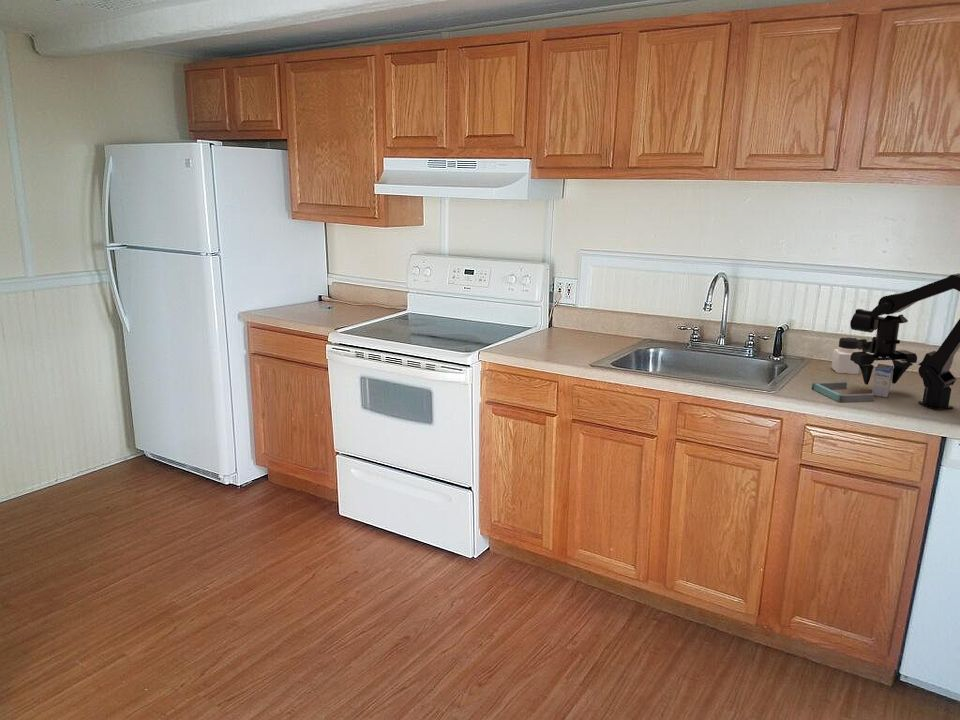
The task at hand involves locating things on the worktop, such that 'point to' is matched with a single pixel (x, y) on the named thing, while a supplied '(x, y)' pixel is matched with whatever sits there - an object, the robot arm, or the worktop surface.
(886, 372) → the medicine box
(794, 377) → the worktop surface
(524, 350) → the worktop surface
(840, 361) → the medicine bottle
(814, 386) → the frame
